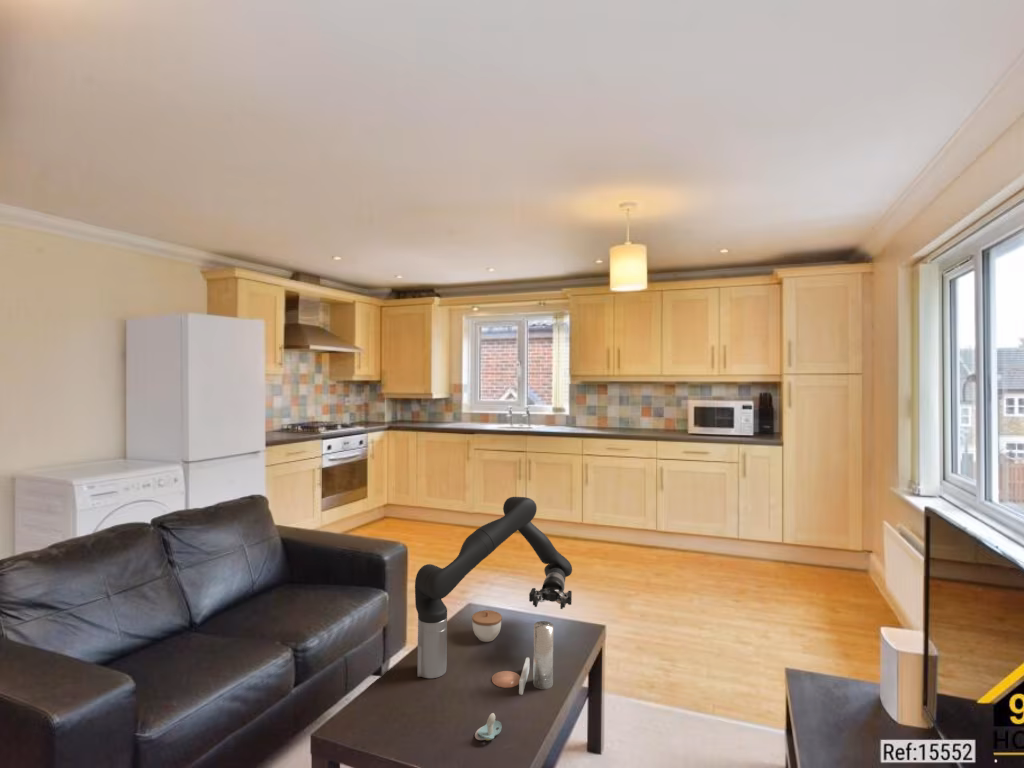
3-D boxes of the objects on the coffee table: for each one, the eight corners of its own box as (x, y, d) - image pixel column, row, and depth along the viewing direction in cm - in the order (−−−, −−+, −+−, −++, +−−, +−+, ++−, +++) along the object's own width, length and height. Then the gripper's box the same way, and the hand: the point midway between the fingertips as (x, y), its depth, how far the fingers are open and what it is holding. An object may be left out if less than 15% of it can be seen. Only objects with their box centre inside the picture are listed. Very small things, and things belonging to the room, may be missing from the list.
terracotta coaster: (493, 688, 164) (493, 687, 164) (490, 673, 173) (490, 672, 173) (523, 686, 165) (523, 685, 165) (517, 670, 174) (517, 669, 174)
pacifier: (469, 739, 141) (488, 747, 138) (469, 715, 141) (488, 722, 138) (486, 724, 147) (504, 732, 144) (485, 701, 147) (504, 708, 144)
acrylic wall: (522, 694, 161) (522, 681, 161) (519, 694, 161) (519, 680, 161) (529, 670, 175) (529, 657, 175) (526, 669, 175) (526, 657, 175)
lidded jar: (475, 629, 202) (475, 604, 202) (503, 632, 201) (503, 606, 201) (468, 643, 192) (469, 617, 192) (498, 646, 190) (499, 619, 190)
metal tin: (535, 690, 163) (536, 630, 163) (531, 679, 169) (532, 621, 169) (554, 688, 164) (555, 629, 164) (550, 677, 170) (550, 620, 170)
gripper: (533, 574, 195) (527, 592, 179) (573, 577, 192) (570, 595, 176) (533, 595, 195) (526, 614, 179) (573, 598, 193) (570, 618, 177)
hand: (548, 605), depth 178 cm, fingers open, 8 cm apart
